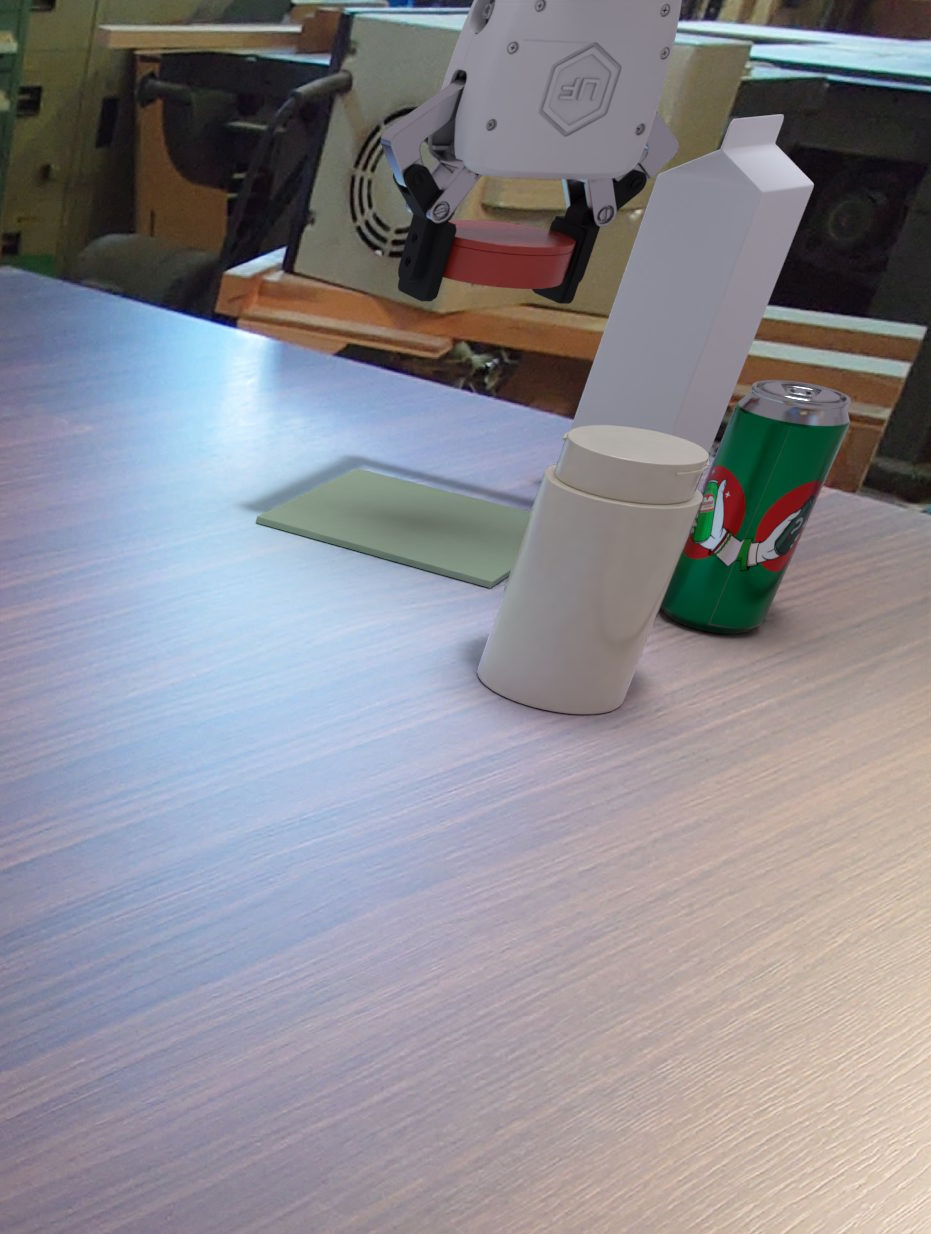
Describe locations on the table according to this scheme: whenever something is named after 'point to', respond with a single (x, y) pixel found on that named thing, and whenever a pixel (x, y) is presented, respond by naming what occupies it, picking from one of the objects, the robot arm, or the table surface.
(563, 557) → the jar
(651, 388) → the milk
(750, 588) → the soda can
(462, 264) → the lid
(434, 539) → the mat
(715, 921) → the table surface
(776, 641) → the table surface
